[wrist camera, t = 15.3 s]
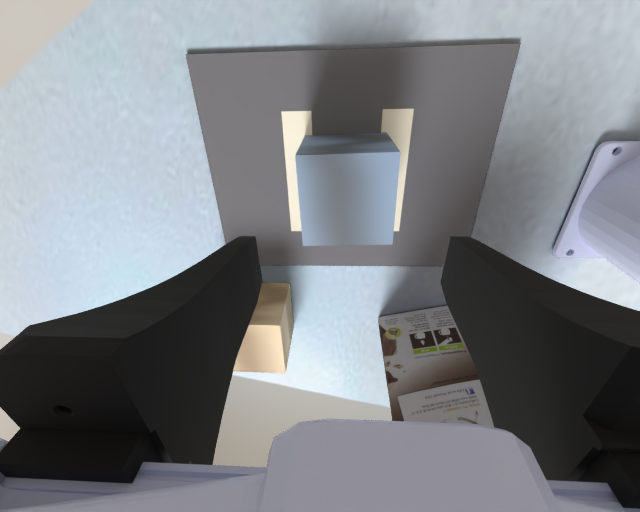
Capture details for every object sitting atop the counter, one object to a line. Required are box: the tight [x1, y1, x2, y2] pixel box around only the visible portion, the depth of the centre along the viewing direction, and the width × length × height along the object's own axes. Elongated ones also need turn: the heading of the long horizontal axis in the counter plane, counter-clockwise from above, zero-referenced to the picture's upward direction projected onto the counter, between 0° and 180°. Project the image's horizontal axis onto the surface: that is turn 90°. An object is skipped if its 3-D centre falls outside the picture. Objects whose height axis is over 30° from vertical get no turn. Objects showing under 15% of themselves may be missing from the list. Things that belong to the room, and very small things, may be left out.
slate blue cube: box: [295, 132, 401, 246], centre depth 18 cm, size 5×5×5 cm
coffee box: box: [378, 306, 494, 428], centre depth 22 cm, size 9×6×16 cm
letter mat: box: [186, 43, 521, 266], centre depth 20 cm, size 18×14×1 cm
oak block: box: [233, 282, 293, 373], centre depth 25 cm, size 5×5×5 cm
